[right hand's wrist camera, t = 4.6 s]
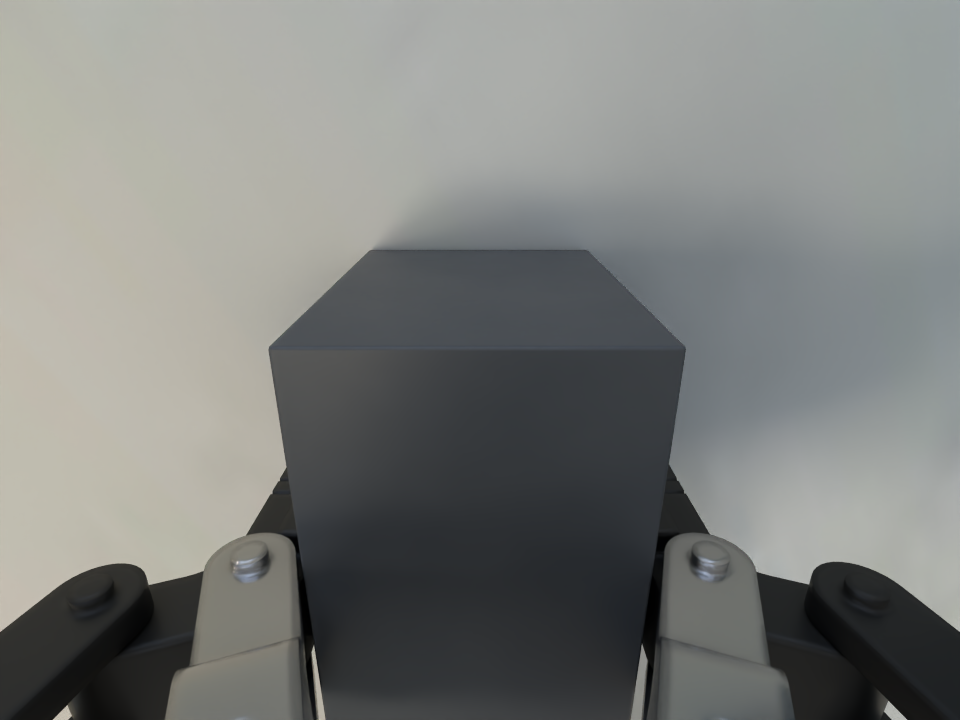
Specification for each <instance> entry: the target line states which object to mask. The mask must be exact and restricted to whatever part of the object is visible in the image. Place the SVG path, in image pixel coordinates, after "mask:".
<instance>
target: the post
mask: <svg viewBox="0 0 960 720" xmlns="http://www.w3.org/2000/svg"><path fill="white" fill-rule="evenodd" d="M685 352H686V349H685V346H684V345H683V344H682V343H681V342H680V341H679V340H678V339H677V338H676V337H675V336H674V335H673V334H672V333H671V332H670V331H669V330H668V329H667V328H666V327H664V326H663V325H662V324H661V323H660V322H659V321H658V320H657V319H656V318H655V317H654V316H653V315H652V314H651V313H650V312H649V311H648V310H647V309H646V308H645V307H644V306H643V305H642V304H641V303H640V302H639V301H638V300H637V299H636V298H635V297H634V296H633V295H632V294H631V293H630V292H629V291H628V290H627V289H626V288H625V287H624V286H623V285H622V284H621V283H620V282H619V281H618V280H617V279H616V278H615V277H614V276H613V275H612V274H611V273H610V272H609V271H608V270H607V269H606V268H605V267H604V266H603V265H602V264H601V263H600V262H599V261H598V260H597V259H596V258H595V257H594V256H593V255H592V254H591V253H590V252H589V251H587V250H371V251H369V252H368V253H367V254H366V255H365V256H364V257H363V258H362V259H360V260H359V261H358V262H357V263H356V264H355V265H354V266H353V267H352V268H351V269H350V270H349V271H348V272H347V273H346V274H345V275H344V276H343V277H342V278H341V279H340V280H339V281H338V282H336V283H335V284H334V285H333V286H332V287H331V288H330V289H329V290H328V291H327V292H326V293H325V294H324V295H323V296H322V297H321V298H320V299H319V300H318V301H317V302H316V303H315V304H314V305H312V306H311V307H310V308H309V309H308V310H307V311H306V312H305V313H304V314H303V315H302V316H301V317H300V318H299V319H298V320H297V321H296V322H295V323H294V324H293V325H292V326H291V327H290V328H288V329H287V330H286V331H285V332H284V333H283V334H282V335H281V336H280V337H279V338H278V339H277V340H276V341H275V342H274V343H273V344H272V345H271V346H270V347H269V356H270V362H271V369H272V375H273V382H274V388H275V395H276V401H277V407H278V414H279V420H280V427H281V433H282V440H283V446H284V453H285V459H286V466H287V472H288V479H289V485H290V492H291V498H292V504H293V511H294V517H295V524H296V530H297V537H298V543H299V550H300V556H301V563H302V569H303V576H304V582H305V588H306V595H307V601H308V608H309V614H310V621H311V627H312V634H313V640H314V647H315V653H316V660H317V666H318V673H319V679H320V685H321V692H322V698H323V705H324V711H325V718H326V720H630V719H631V712H632V706H633V699H634V692H635V686H636V679H637V672H638V666H639V659H640V652H641V646H642V639H643V632H644V626H645V619H646V612H647V605H648V599H649V592H650V585H651V579H652V572H653V565H654V559H655V552H656V545H657V539H658V532H659V525H660V519H661V512H662V505H663V499H664V492H665V485H666V479H667V472H668V465H669V458H670V452H671V445H672V438H673V432H674V425H675V418H676V412H677V405H678V398H679V392H680V385H681V378H682V372H683V365H684V358H685Z"/></svg>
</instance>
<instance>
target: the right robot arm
mask: <svg viewBox="0 0 960 720" xmlns="http://www.w3.org/2000/svg"><path fill="white" fill-rule="evenodd" d="M642 644H643V647H644V651H645V654H646V657H647V666H646V673H645V685H644V696H643V707H642V719H641V720H891V719H890V718H889V717H888V715H887V714H886V713H885V712H884V710H885V707H886V705H887V702H888V701H889V702H890V703H891V704H892V705H893V706H894V707H895V708H896V709H897V710H898V711H899V712H900V713H901V714H902V715H903V716H904V717H905V718H906V719H907V720H960V632H959V631H958V630H956V629H955V628H954V627H953V626H951V625H950V624H949V623H947V622H946V621H945V620H944V619H942V618H941V617H940V616H938V615H937V614H936V613H935V612H933V611H932V610H931V609H930V608H928V607H927V606H926V605H924V604H923V603H922V602H921V601H919V600H918V599H917V598H915V597H914V596H913V595H912V594H910V593H909V592H908V591H907V590H905V589H904V588H903V587H901V586H900V585H899V584H897V583H896V582H894V581H893V580H891V579H890V578H888V577H886V576H884V575H882V574H880V573H878V572H876V571H874V570H871V569H869V568H866V567H863V566H860V565H856V564H851V563H845V562H829V563H825V564H821V565H820V566H818V567H816V569H815V570H814V571H813V573H812V576H811V580H810V583H809V585H808V584H803V583H799V582H795V581H790V580H786V579H782V578H777V577H773V576H769V575H765V574H761V573H758V572H756V569H755V566H754V564H753V562H752V560H751V559H750V558H749V557H748V555H747V554H746V553H745V552H744V551H742V550H741V549H740V548H738V547H737V546H736V545H734V544H732V543H731V542H729V541H727V540H724V539H722V538H719V537H717V536H713V535H710V534H709V532H708V530H707V529H706V527H705V525H704V524H703V522H702V520H701V519H700V517H699V515H698V513H697V512H696V510H695V508H694V507H693V505H692V503H691V502H690V500H689V498H688V496H687V495H686V494H684V490H683V488H682V486H681V485H680V483H679V481H677V478H676V476H675V474H674V473H673V471H672V469H671V468H670V466H669V465H668V472H667V479H666V485H665V492H664V499H663V505H662V512H661V519H660V525H659V532H658V539H657V545H656V552H655V559H654V565H653V572H652V579H651V585H650V592H649V599H648V605H647V612H646V619H645V626H644V632H643V639H642ZM313 646H314V640H313V634H312V627H311V621H310V614H309V608H308V601H307V595H306V588H305V582H304V576H303V569H302V563H301V556H300V550H299V543H298V537H297V530H296V524H295V517H294V511H293V504H292V498H291V492H290V485H289V479H288V472H287V468H286V470H285V471H284V473H283V475H282V476H281V478H280V481H278V483H277V485H276V486H275V488H274V490H273V494H271V495H270V496H269V498H268V500H267V501H266V503H265V505H264V506H263V508H262V510H261V511H260V513H259V515H258V516H257V518H256V520H255V521H254V523H253V525H252V526H251V528H250V530H249V531H248V533H247V535H246V536H243V537H241V538H238V539H236V540H233V541H231V542H229V543H228V544H226V545H224V546H223V547H222V548H220V549H219V550H218V551H216V552H215V553H214V554H213V555H212V557H211V558H210V559H209V560H208V562H207V564H206V566H205V569H204V571H203V572H200V573H197V574H194V575H190V576H187V577H183V578H178V579H174V580H170V581H165V582H161V583H156V584H152V585H148V581H147V578H146V575H145V573H144V571H143V570H142V569H141V568H139V567H137V566H135V565H131V564H110V565H105V566H101V567H97V568H94V569H91V570H88V571H86V572H83V573H81V574H79V575H77V576H75V577H73V578H71V579H70V580H68V581H66V582H64V583H63V584H62V585H60V586H59V587H57V588H56V589H55V590H53V591H52V592H51V593H50V594H48V595H47V596H46V597H44V598H43V599H42V600H41V601H39V602H38V603H37V604H36V605H34V606H33V607H32V608H30V609H29V610H28V611H27V612H25V613H24V614H23V615H21V616H20V617H19V618H18V619H16V620H15V621H14V622H13V623H11V624H10V625H9V626H7V627H6V628H5V629H4V630H2V631H1V632H0V720H53V719H54V718H55V717H56V716H57V715H58V714H59V713H60V712H61V711H62V710H63V709H64V708H65V707H66V706H67V705H68V707H69V710H70V712H71V715H72V717H71V718H70V719H69V720H319V719H318V707H317V696H316V685H315V673H314V666H313V659H312V653H311V652H312V649H313Z"/></svg>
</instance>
